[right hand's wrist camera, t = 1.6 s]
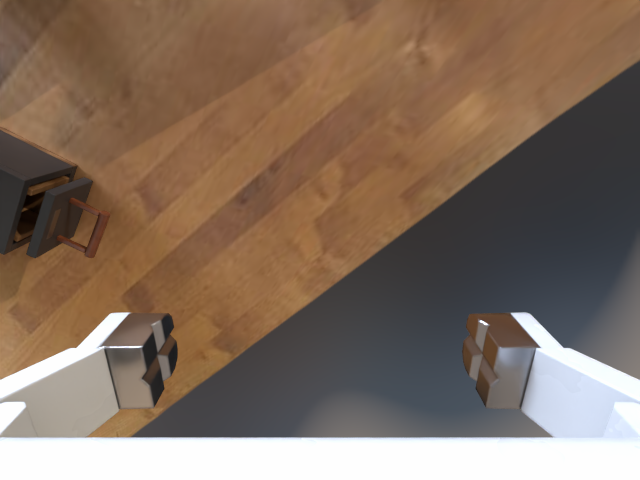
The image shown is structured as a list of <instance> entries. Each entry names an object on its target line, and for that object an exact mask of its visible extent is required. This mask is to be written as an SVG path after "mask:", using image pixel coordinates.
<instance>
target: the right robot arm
mask: <svg viewBox="0 0 640 480" xmlns="http://www.w3.org/2000/svg"><path fill="white" fill-rule="evenodd" d="M173 328H174V325H173V320H172V316H171V315H170V314H169V313H130V312H127V313H111V314H109V315H108V316H107V317H106V318H105V320H104V321H103V322H102V323H101V324H100V325H99V326H98V327H97V328H96V329H95V330H94V331H93V332H92V333H91V334H90V335H89V336H88V337H87V338H86V339H85V340H84V341H83V342H82V343H81V344H80V345H79V346H78V347H77V348H70V349H67V350H65V351H63V352H61V353H59V354H57V355H54V356H52V357H50V358H48V359H46V360H43V361H41V362H39V363H37V364H35V365H32V366H30V367H28V368H26V369H24V370H21V371H19V372H17V373H15V374H13V375H10V376H8V377H6V378H4V379H2V380H0V480H640V380H638V379H636V378H634V377H632V376H629V375H627V374H625V373H623V372H621V371H618V370H616V369H614V368H612V367H610V366H608V365H605V364H603V363H601V362H599V361H596V360H594V359H592V358H590V357H588V356H586V355H583V354H581V353H579V352H577V351H575V350H572V349H570V348H563V347H562V346H561V345H560V344H559V343H558V342H557V341H556V340H555V339H554V338H553V337H552V336H551V335H550V334H549V333H548V332H547V331H546V330H545V329H544V328H543V327H542V326H541V325H540V324H539V323H538V322H537V320H536V319H535V318H534V317H533V316H532V315H531V314H529V313H526V312H520V313H491V314H470V315H469V317H468V319H467V324H466V328H467V330H468V331H469V333H470V335H469V336H468V337H467V338H466V339H465V340H464V343H463V350H462V353H463V363H464V366H465V369H466V371H467V373H468V375H469V376H470V377H471V378H473V379H474V380H476V381H477V384H476V390H477V392H478V394H479V396H480V397H481V399H482V401H483V403H484V405H485V407H486V408H497V409H521V411H522V412H523V413H524V414H525V415H527V416H528V417H529V418H530V419H532V420H533V421H534V422H535V423H537V424H538V425H539V426H540V427H542V428H543V429H544V430H546V431H547V432H548V433H549V434H550V435H552V436H553V437H554V438H86V437H87V436H88V435H90V434H91V433H92V432H93V431H95V430H96V429H97V428H99V427H100V426H101V425H102V424H104V423H105V422H106V421H107V420H109V419H110V418H111V417H112V416H114V415H115V414H116V413H117V412H119V409H142V408H154V407H155V405H156V403H157V401H158V399H159V397H160V396H161V394H162V392H163V390H164V384H163V381H164V380H166V379H167V378H169V377H170V376H171V375H172V373H173V371H174V369H175V366H176V361H177V342H176V340H175V339H174V338H173V337H172V336H171V335H170V333H171V331H172V330H173Z"/></svg>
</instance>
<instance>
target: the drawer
mask: <svg viewBox="0 0 640 480" xmlns="http://www.w3.org/2000/svg"><path fill="white" fill-rule="evenodd" d="M68 181H69V178H68V177H66V176H60V177H57V178H54V179H51V180H48V181H45V182H41V183H38V184H35V185H32V186H29V188H28V192H27V195H26V199H25V202H24V206H23V209H22V212H21V216H20V219H19V223H18V226H17V230H16V233H15V237H14V240H15V241H20V240H22V239H24V238H26V237H28V236H30V235H32V237H31V241H30V244H29V247H28V250H27V255H29V256H31V257H33V258H37V257H39V256H40V255H42V254H44V253H46V252H47V251H49V250H51V249H53V248H54V247H56V246H58V245H60V244H61V243H64V244H66V245H69V246H71V247H73V248H75V249H77V250H79V251H82V252H84V253H85V256H86V257H89V258H93V257H94V256H95V254H96V251H97V249H98V246H99V243H100V241H101V238H102V236H103V233H104V230H105V228H106V225H107V222H108V220H109V217H110V213H109V212H107V211H99V210H97V209H95V208H93V207H91V206H89V205H87V204H85V202H86V199H87V197H88V194H89V191H90V188H91V185H92V182H93V181H91V180H89V179H87V178H85V177H84V178H81V179H78V180H75V181H73V182H70V183H68ZM83 209H84V210H86V211H88V212H90V213H92V214H94V215H96V216H98V219H97V222H96V225H95V227H94V230H93V233H92V235H91V238H90V241H89V243H88V246H87V247H85V246H83V245H81V244H78V243H76V242H74V241H72V240H70V238H72V237H73V236H74V234H75V231H76V228H77V225H78V222H79V219H80V216H81V214H82V211H83Z"/></svg>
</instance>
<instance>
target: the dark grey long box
mask: <svg viewBox="0 0 640 480" xmlns="http://www.w3.org/2000/svg"><path fill="white" fill-rule="evenodd" d="M77 166H78V165H76V164H74V163H72V162H70V161H68V160H66V159H64V158H62V157H60V156H58V155H56V154H54V153H52V152H50V151H48V150H46V149H44V148H42V147H40V146H38V145H36V144H34V143H32V142H30V141H28V140H26V139H24V138H22V137H20V136H18V135H16V134H14V133H12V132H10V131H8V130H6V129H4V128H2V127H0V253H1V254H3V255H4V254H6V253H8V252H10V251H12V250H14V249H16V248H18V247H20V246H22V245H24V244H26V243H28V242H30V241H31V237H32V235H30V236H28V237H26V238H24V239H22V240H20V241H15V240H14V237H15V233H16V230H17V226H18V223H19V219H20V216H21V212H22V209H23V206H24V202H25V199H26V195H27V192H28V188H29V186H32V185H35V184H38V183H41V182H45V181H48V180H51V179H54V178H57V177H60V176H66V177H68V178H69V181H68V183H70V182H72V180H73V177H74V174H75V171H76V168H77Z"/></svg>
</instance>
